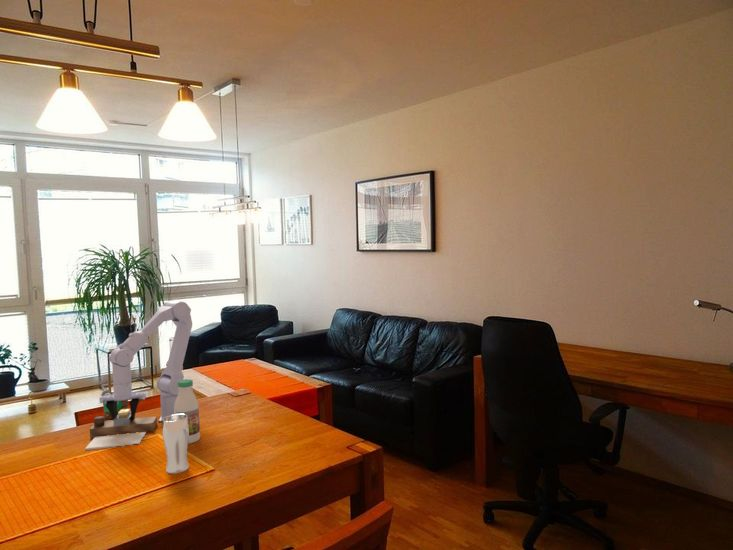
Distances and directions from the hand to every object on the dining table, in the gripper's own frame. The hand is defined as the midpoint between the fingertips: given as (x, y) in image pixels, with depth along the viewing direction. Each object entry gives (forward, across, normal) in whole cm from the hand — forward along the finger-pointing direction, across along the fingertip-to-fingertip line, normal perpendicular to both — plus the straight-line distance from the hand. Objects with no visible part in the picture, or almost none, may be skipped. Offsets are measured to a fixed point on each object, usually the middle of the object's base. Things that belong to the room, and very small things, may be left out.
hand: (124, 420), depth 170 cm
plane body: (+4, 0, 0) cm, 4 cm away
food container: (+4, -8, +15) cm, 17 cm away
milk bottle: (+4, +23, -16) cm, 28 cm away
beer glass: (+4, +23, -38) cm, 45 cm away
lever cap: (+1, 0, 0) cm, 1 cm away
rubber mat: (+4, 0, -10) cm, 11 cm away
